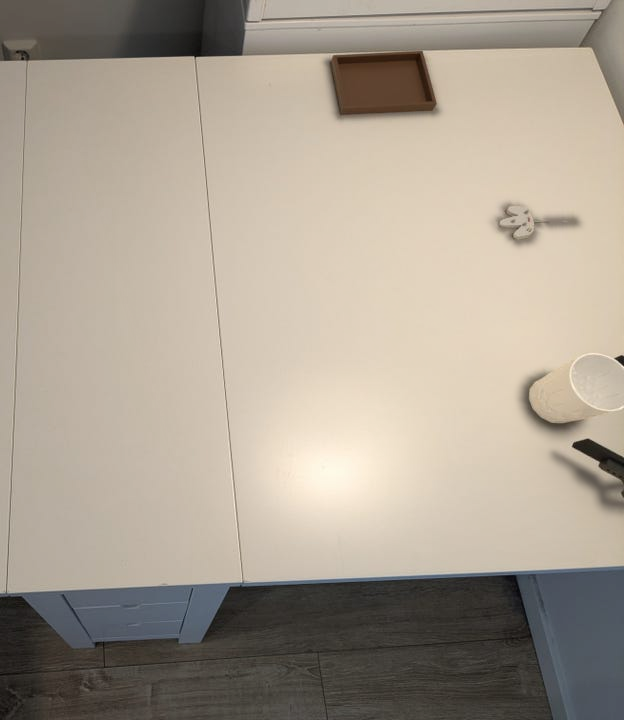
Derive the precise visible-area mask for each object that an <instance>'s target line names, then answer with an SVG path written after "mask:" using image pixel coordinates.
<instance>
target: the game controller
mask: <svg viewBox="0 0 624 720" xmlns="http://www.w3.org/2000/svg"><path fill="white" fill-rule="evenodd" d="M505 213H506V214H507V216H510V217H505V218H503V219H501V220H499V222H498V225H499V226H500V227H501V228H506V229H516V230H515V231H514V232H513V234H512V238H513V239H514V240H524V239H527V238H529V237H530V236H531V235H532V234H533V232H534V230H535V223H538V222H542V221H543V222H548V223H550V220H548V219H539V220H536V221H534V218H533V215H532V213H531V211H530V209H528V208H527V207H526V206H523V205H509V206H508V208H506V212H505ZM562 222H563V223H567V222H569V221H568V220H563V221H562Z"/></svg>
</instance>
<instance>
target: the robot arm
mask: <svg viewBox="0 0 624 720" xmlns="http://www.w3.org/2000/svg"><path fill="white" fill-rule="evenodd" d="M613 359H615V360H616V361H618V362H619V363H620V364H621V365H623V366H624V355H623V354H621V355H619V356H615V357H614V358H613ZM571 448H572V449H574V450H576V451H578V452H580V453H582V454H583V455H585V456H587V457H589V458H590V459H593V460H595V461H597V462H598V464H597V465H598V468H599V469H600V470H601V471H603V472H605V473H607V474H609V475H610V476H611V477H614V478H616V479H618V480H619V481H621V483H622V484H623V485H624V456H622V455H620V454H618V453H616V452H615V451H613V450H611V449H610V448H607V447H606V446H603V445H601V444H600V443H598V442H596V441H594V440H593V439H591V438H584V439H581V440H577V441H574V442H573V443H572V445H571ZM621 497H622V498H623V499H624V489H623V490H622V491H621Z"/></svg>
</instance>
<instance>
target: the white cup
mask: <svg viewBox="0 0 624 720" xmlns="http://www.w3.org/2000/svg"><path fill="white" fill-rule="evenodd" d="M528 401H529V403H530V406H531V408H532V410H533V411H534V412H535V413H536V414H537V415H538V416H539V417H540V418H541V419H543V420H545V421H547V422H549V423H552V424H566V423H570V422H575V421H580V420H581V421H582V420H584V419H585V420H586V419H589V418H594V417H598V416H602V415H606V414H610V413H613V412H618V411H620V410H623V409H624V366H623V365H621V364H620V363H619V362H618V361H616V360H615V359H614V358H613V357H612V356H609V355H607V354H603V353H599V352H589V353H583V354H582V355H580V356H578V357H576V358H574V359H572V360H571V361H569V362H567V363H565V364H563V365H561V366H559V367H557V368H556V369H554V370H552V371H550V372H548V373H547V374H546V375H544V376H543V377H541V378H539V379H538V380H536V381H534V383H533V384H532V385H531V387H530V388H529V393H528Z"/></svg>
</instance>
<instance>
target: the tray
mask: <svg viewBox="0 0 624 720" xmlns="http://www.w3.org/2000/svg"><path fill="white" fill-rule="evenodd" d="M424 54H425V53H424V51H423V50H411V51H409V50H407V51H390V52H369V53H348V54H333V55H332V57H331V60H330V67H331V72H332V78H333V82H334V87H335V93H336V99H337V103H338V108H339V112H340V115H341V116H349V115H366V114H367V115H368V114H389V113H390V114H391V113H409V112H410V113H413V112H431V111H434V109H435V108H436V106H437V104H438V103H437V100H436V95H435V91H434V88H433V84H432V81H431V76H430V73H429V70H428V69H429V68H428V66H427V62H426V57H425V55H424Z"/></svg>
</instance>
